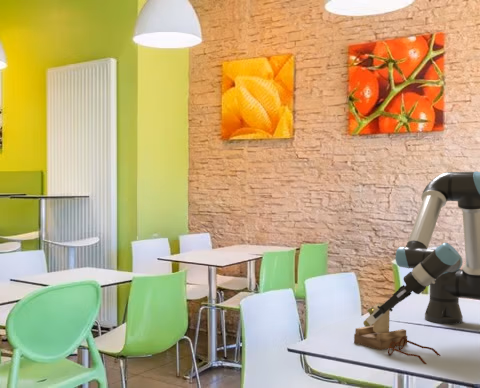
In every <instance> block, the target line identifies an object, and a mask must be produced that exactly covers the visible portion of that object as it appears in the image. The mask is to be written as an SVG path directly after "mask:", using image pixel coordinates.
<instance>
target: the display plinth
mask: <svg viewBox="0 0 480 388" xmlns="http://www.w3.org/2000/svg"><path fill="white" fill-rule="evenodd" d="M402 337H405V338H406V340H408V335H407V329H405V328H404V329H397V330H393V331H391V330H389V332H385V333H376V332H374V331H373V326H367V327H365V326H361V327H357V328H355V333H354V335H353V338H354V339H353V341H354V343H355V344H358V345H362V346H366V347H368V348H372V349H375V350H379V351H383V350H388V348H389V346H390V344H391V342H392V341H394V342H395V343H396V342H400V340H401V338H402ZM403 343H404V339H403V340H402V341H401V344H400V347H402V346H403ZM406 345H408V342H405V345H404V346H406ZM398 346H399V344H397V345H396V346H395V348H397V347H398ZM391 347H394V343H393V344H392V345H391Z"/></svg>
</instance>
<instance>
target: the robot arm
mask: <svg viewBox="0 0 480 388" xmlns="http://www.w3.org/2000/svg"><path fill="white" fill-rule="evenodd" d="M420 197H421V201H422V202H421V204H420V207H419V209H418V213H417V215H416V218H415V220H414V223H413V227H412V229H411V232H410V234H409V237H408V240H407V243H406V244H405V246H398V248H397V249H396V252H395V262H396V265H397V266H398V267H400V268H404V269H405V268H406V269H411V270H412V271H409V272H408V273H407V274H405V276H403V282H404V283H405V284H403V285H401V286H400V287H399V288H398V289H397V290H396V291H395V292H394V293H393V294H392V296H391V297H390V298H388V300H386V301H384V302H383V303H384V304H383V305H382V306H380V307H379V306H377V307H378V309H377V310H376V311H375V312H374V313H372V314H371V315H370V314H369V316H368V317H367V318H365V320H366V321H367V322H368V323H369V324H370V326H371V325H372V324H373V323H375V322H376V321H377V320H378V319H379V318H380V317H382V316H383V315H384V314H385V313H386V312H387V311H388V310H389V309H390V312H393V308H395V306H397V305H398V304H399V303H400V302H402V301H404V300H405V299H406V298H408V297H409V296H411V295H412V293H414V294H415V295H420V294H421V293H423V292H424V291H425V290H426V289H427V287H429V301H428V304H427V307H426V309H425V313H424V319H425V320H426V321H428V322H433V323H437V324H447V325H449V324H450V325H456V324H461V323H463V320H464V317H463V314H462V313H463V312H462V310H461V307H460V303H459V302H460V301H459V300H460V299H459V298H464V299H472V300H479V301H480V171H447V172H446V171H445V172H442V173H441V174H438V175H437V176H435V177H434V178H432V180H430V181H429V182H428V184H427V185H426V186H425V187H424V189H423V191H422V194H421V196H420ZM447 202H457V207H458V208H459V209H460V210H461V211H462V223H463V238H464V252H465V264H464V265H463V263H464V262H463V258H462V255H461V254H460V253H459V252H458V250H456V248H455V247H454V246H452V244H450V243H448V242H442V244H440V245H439V246H437V247H436V248H434V249H433V248H429V245H430V243H431V240H432V237H433V235H434V230H435V228H436V225H437V222H438V220H439V217H440V213H441V211H442V208H443V207H445V206H446V203H447ZM461 268H462V269H461Z"/></svg>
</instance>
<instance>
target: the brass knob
mask: <svg viewBox="0 0 480 388" xmlns="http://www.w3.org/2000/svg"><path fill="white" fill-rule="evenodd" d="M373 310H374V306H371V307H370V308H369V307H368V309H366V311H367V313H368V314H369V316H370V315H371V314H372V313H373ZM363 325H364V326H363V327H367V326H370V324H369V323H368V322H367V321H366V319H365V320H363ZM371 326H373V324H372V325H371Z"/></svg>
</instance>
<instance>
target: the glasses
mask: <svg viewBox="0 0 480 388" xmlns="http://www.w3.org/2000/svg"><path fill="white" fill-rule="evenodd" d="M403 339H404V343H403V346H400V344H401V341H402V340H403ZM405 342H407V344H410V345H413V346H416V347H418V348H421V349H427V350H431V351H432V352H434V354H436V355H437V356H438V355H439V356H438V357H441V354H440V353H439V352H438V351H437V350H436V349H435V348H433V347H429V346H425V345H424V346H423V345H420V344H418V343H416V342H413V341H411V340H408V339H407V340H406V338H405V337H402V338H401V340H400V342H396V343H395V342H394V341H392V342H391V344H390V346H389V348H388V349H387V355H388V356H392V355H393V354H394V351H395V352H398V353H399V354H402V355H405V356H407V357H416V358H418V359H419V360H420V361H421V362H422V364H423V365H427V362H426V361H425V360H424V358H423V357H421V356H420V355H418V354H416V353H408V352H406V351H404V350H403V349H404V347H405V346H406V345H405ZM393 343H394V347H391V345H392V344H393ZM397 344H399V346H398V349H397V347H395V346H396V345H397ZM390 350H392V351H390Z"/></svg>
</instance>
